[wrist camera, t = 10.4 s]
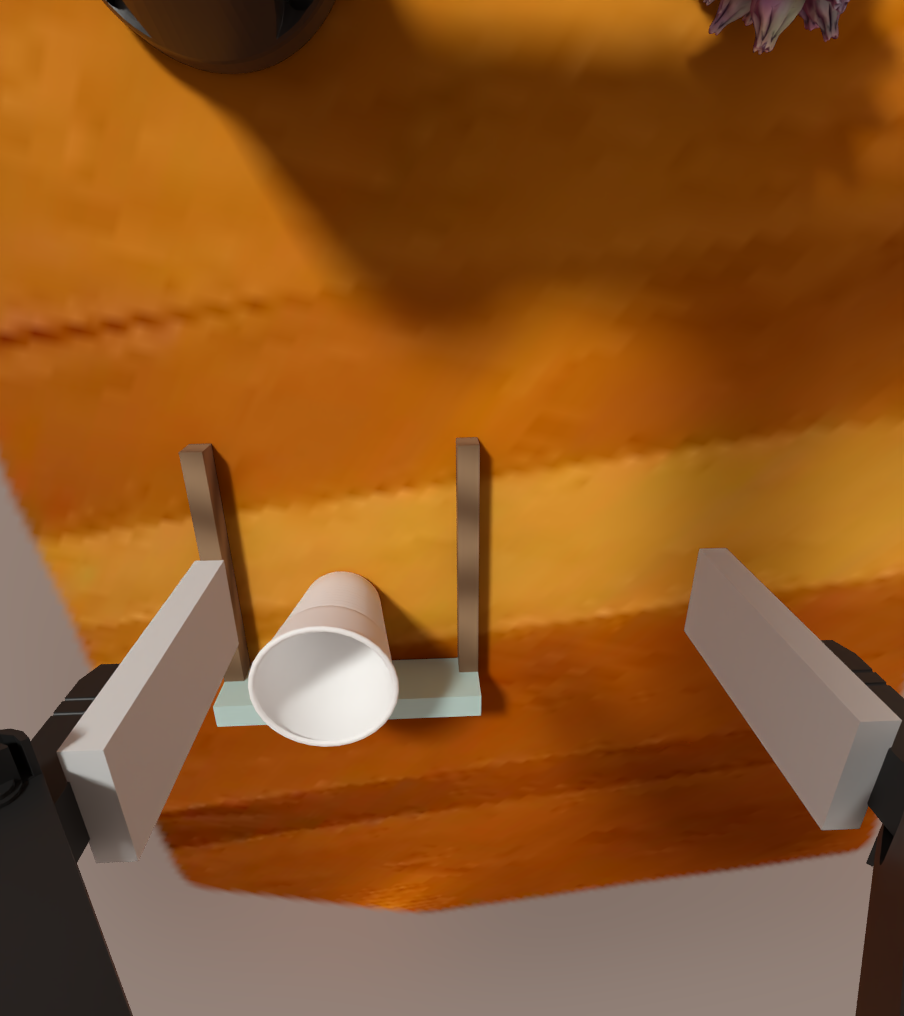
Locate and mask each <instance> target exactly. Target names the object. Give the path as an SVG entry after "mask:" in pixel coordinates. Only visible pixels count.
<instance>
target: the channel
mask: <svg viewBox="0 0 904 1016" xmlns="http://www.w3.org/2000/svg"><path fill="white" fill-rule="evenodd" d="M179 456H180V461H181V466H182V471H183V476H184V481H185V486H186V491H187V496H188V501H189V506H190V511H191V516H192V521H193V526H194V531H195V536H196V541H197V546H198V551H199V556H200V561H210V560H224V563H225V569H226V575H227V580H228V586H229V591H230V597H231V603H232V608H233V614H234V620H235V625H236V631H237V636H238V642H239V645H238V647H237V649H236V651H235V653H234V656H233V658H232V660H231V662H230V664H229V666H228V669H227V671H226V673H225V675H224V681H225V682H233V681H244V680H245V678H246V675H247V673H248V671H249V668H250V660H249V654H248V649H247V643H246V637H245V632H244V626H243V620H242V615H241V609H240V603H239V598H238V592H237V587H236V581H235V575H234V570H233V564H232V558H231V553H230V547H229V541H228V536H227V530H226V524H225V519H224V513H223V507H222V502H221V496H220V490H219V485H218V479H217V473H216V468H215V462H214V456H213V451H212V445H211V444H189V445H188V446H186V447H185V448H184V449H183V450H181V451H180V452H179ZM479 481H480V444H479V441H478V438H477V437H473V438H456V500H457V620H458V665H459V672H478V605H479Z"/></svg>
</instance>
